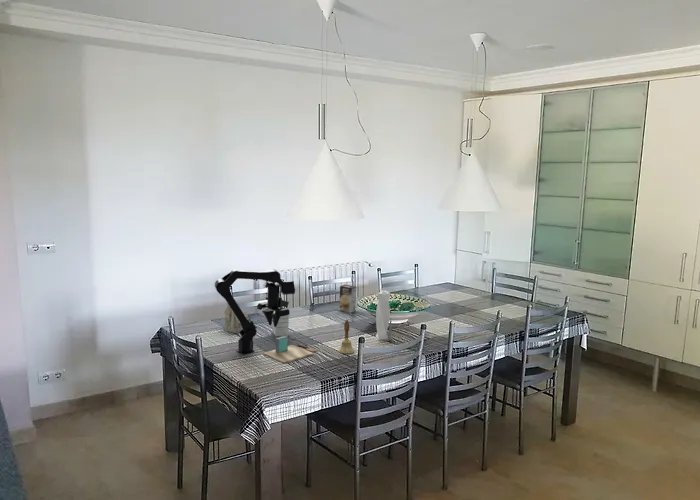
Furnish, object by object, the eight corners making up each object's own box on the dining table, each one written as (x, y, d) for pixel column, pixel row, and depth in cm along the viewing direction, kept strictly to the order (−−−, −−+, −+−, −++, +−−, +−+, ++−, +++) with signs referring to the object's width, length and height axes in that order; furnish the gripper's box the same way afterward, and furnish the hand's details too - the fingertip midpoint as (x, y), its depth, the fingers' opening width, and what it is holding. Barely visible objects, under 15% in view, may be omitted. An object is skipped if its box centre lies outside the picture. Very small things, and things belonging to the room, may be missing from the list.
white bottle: (377, 341, 284) (379, 290, 279) (372, 337, 292) (374, 287, 287) (391, 341, 286) (394, 290, 282) (386, 336, 294) (389, 286, 289)
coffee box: (338, 310, 342) (339, 285, 339) (343, 308, 347) (344, 284, 345) (350, 312, 337) (351, 288, 334) (355, 310, 342) (356, 286, 340)
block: (278, 353, 258) (278, 339, 257) (275, 352, 260) (275, 338, 259) (287, 350, 262) (288, 336, 261) (285, 349, 264) (285, 335, 263)
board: (284, 363, 247) (284, 361, 247) (263, 354, 258) (263, 352, 258) (313, 354, 260) (313, 353, 260) (291, 346, 271) (291, 344, 271)
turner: (312, 352, 263) (312, 350, 263) (296, 345, 272) (296, 344, 272) (317, 350, 266) (317, 349, 266) (300, 344, 274) (300, 342, 274)
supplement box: (272, 332, 292) (272, 310, 290) (285, 331, 294) (285, 309, 292) (275, 336, 285) (275, 313, 283) (288, 335, 288) (289, 313, 286)
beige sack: (232, 334, 287) (233, 306, 286) (218, 327, 299) (219, 301, 298) (257, 331, 297) (259, 304, 296) (243, 324, 309) (244, 299, 308)
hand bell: (340, 354, 262) (341, 323, 260) (336, 348, 270) (337, 318, 267) (356, 353, 264) (357, 322, 262) (351, 347, 272) (353, 317, 270)
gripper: (298, 296, 261) (297, 327, 264) (274, 289, 274) (273, 318, 276) (280, 299, 253) (280, 331, 256) (256, 292, 266) (256, 322, 268)
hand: (272, 325), depth 264 cm, fingers open, 4 cm apart
